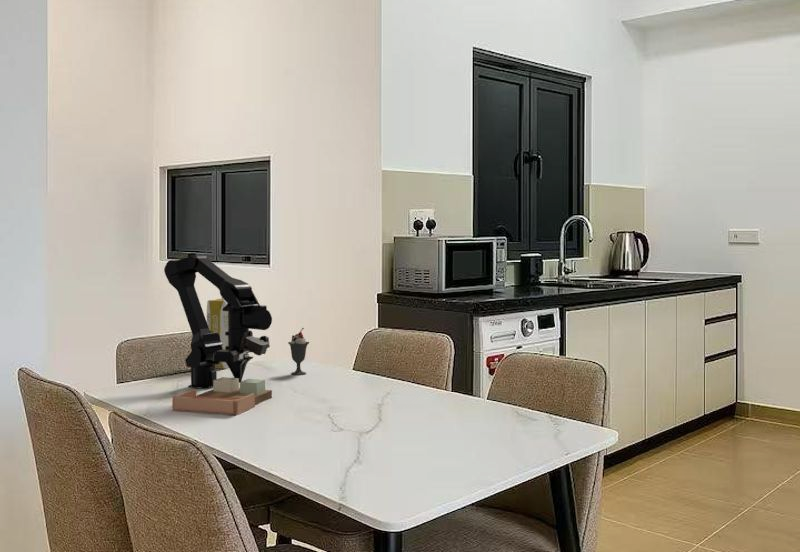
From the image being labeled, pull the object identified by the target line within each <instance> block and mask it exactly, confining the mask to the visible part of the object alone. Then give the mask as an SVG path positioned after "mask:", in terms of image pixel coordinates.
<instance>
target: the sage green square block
mask: <svg viewBox="0 0 800 552" xmlns="http://www.w3.org/2000/svg"><path fill="white" fill-rule="evenodd" d="M239 388H240V393H246V394H252V393H253V394H259V393H261V392H263V391H265V390H266V379H260V378H259V379H257V378H247V379H243V380H242V381H241V382H240V383H239Z"/></svg>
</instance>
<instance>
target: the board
mask: <svg viewBox="0 0 800 552" xmlns="http://www.w3.org/2000/svg"><path fill="white" fill-rule="evenodd" d="M247 395H249V394H246V393H240V387H239V389H237V390H235V391H232V392H217V391H214V388H213V389H211V390H207V391H205V392H202V393H199V394H196V396H204V397H218V398H233V399H240V398H242V397H245V396H247ZM272 395H273V390H272V389H265V391H263V392H261V393H259V394H255V406H257V405H258V404H260V403H263V402H265V401H268V400H269V399H271V398H273V396H272Z"/></svg>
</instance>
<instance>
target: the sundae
mask: <svg viewBox="0 0 800 552" xmlns="http://www.w3.org/2000/svg"><path fill="white" fill-rule="evenodd" d="M304 329H305V328H304V327H302V328H301V329H300V331H299V332H298V333H296V334H294V335H292V336H291V341H289V342H288V341H287V344H288V345H289V346H290V353H291V359H292V361H294V363H296V370H295V371H293V372H290V374H291V375H292V376H304V375H306V374H307V372H305V371H303V370H302V369H301V363H302V362H304V360H305V359H306V352H307V348H308V345H309V344H310V342H309V341H306V339H305V337H304V334H303V333H302V331H303V330H304Z"/></svg>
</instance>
